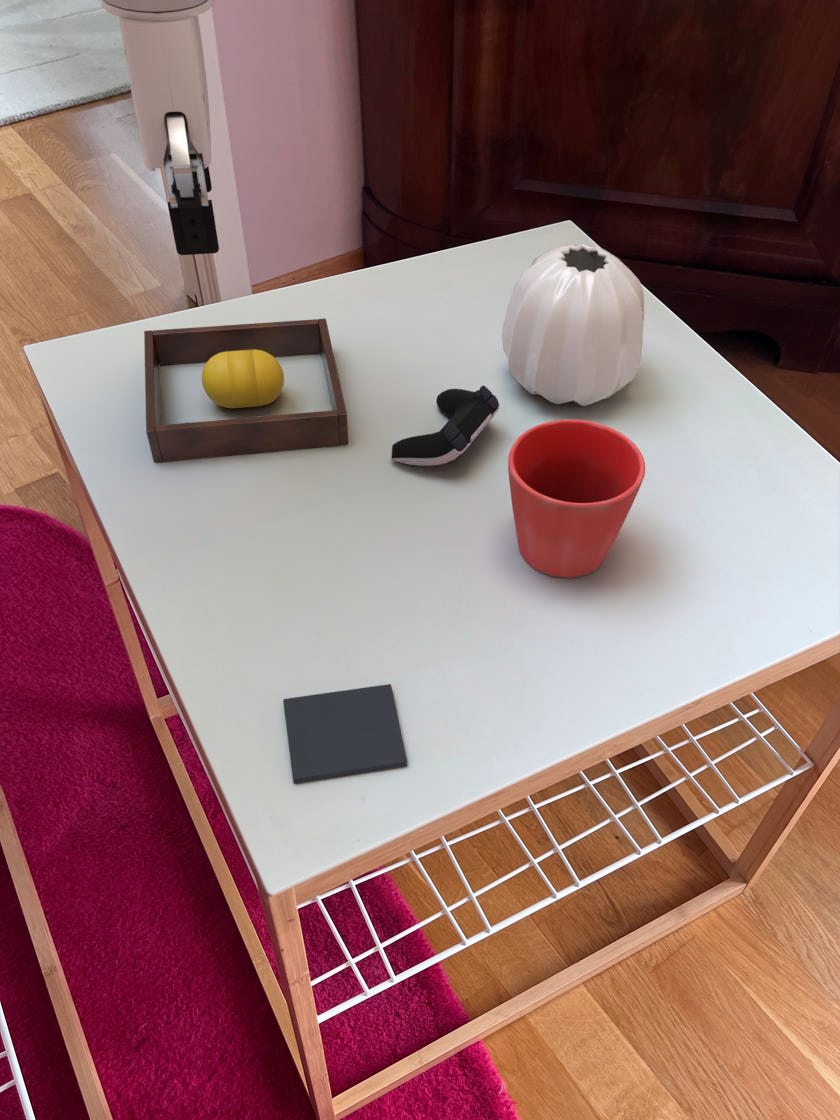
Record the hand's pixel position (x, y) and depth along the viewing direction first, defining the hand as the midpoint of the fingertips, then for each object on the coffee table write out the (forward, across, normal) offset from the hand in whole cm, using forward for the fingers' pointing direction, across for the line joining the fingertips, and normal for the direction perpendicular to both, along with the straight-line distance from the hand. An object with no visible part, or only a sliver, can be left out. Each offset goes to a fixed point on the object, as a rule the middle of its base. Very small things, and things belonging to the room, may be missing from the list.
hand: (195, 220), depth 79 cm
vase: (+19, 0, +34) cm, 39 cm away
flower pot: (+19, +23, +27) cm, 40 cm away
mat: (+18, +39, +6) cm, 44 cm away
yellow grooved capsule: (+19, -1, +2) cm, 19 cm away
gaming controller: (+19, +8, +20) cm, 29 cm away
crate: (+19, -1, +2) cm, 19 cm away
